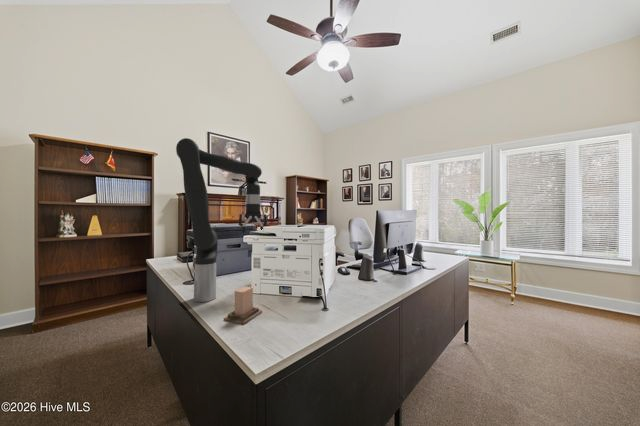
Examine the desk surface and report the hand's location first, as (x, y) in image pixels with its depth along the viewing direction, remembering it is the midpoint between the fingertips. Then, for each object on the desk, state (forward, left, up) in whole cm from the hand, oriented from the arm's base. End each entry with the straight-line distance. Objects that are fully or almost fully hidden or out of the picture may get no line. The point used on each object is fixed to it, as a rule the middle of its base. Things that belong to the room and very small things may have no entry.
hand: (252, 233), depth 127 cm
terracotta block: (-5, -31, -29) cm, 43 cm away
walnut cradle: (-5, -32, -30) cm, 44 cm away
